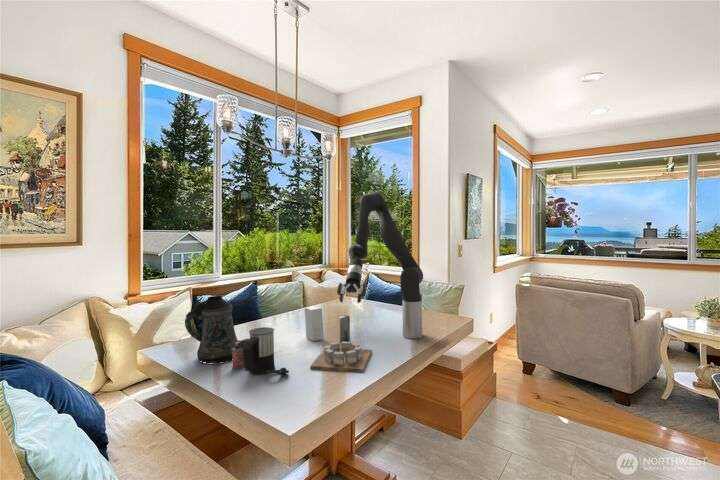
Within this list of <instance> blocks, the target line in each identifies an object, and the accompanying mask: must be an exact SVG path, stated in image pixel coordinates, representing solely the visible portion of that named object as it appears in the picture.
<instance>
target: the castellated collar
mask: <svg viewBox="0 0 720 480" xmlns="http://www.w3.org/2000/svg"><path fill="white" fill-rule="evenodd" d="M372 350H373V349H362V347H361V345H360V344H359V343H356V342H351V341H350V342H344V341H342V343H340V341H335V342H331V343H329V344H326V345H325V346H324V348H323V349H322V351H321V353H320V354H319V355H318V356H317V357H316V358H315V359H314V361H313V362H312V363H311V364H310V365H309V370H316V371H317V370H320V371H335V372H350V373H351V372H352V373H364V371H365V369H366V367H367V365H368V362H369V360H370V358H371V355H372V353H373V352H372Z"/></svg>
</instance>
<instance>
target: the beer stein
mask: <svg viewBox="0 0 720 480" xmlns="http://www.w3.org/2000/svg"><path fill="white" fill-rule="evenodd" d="M233 308H234V306H233V305H232V304H231V303H230V302H229V301H227V300H225V299H224V298H223V296H221V295H212V296H208V297H207V299H206V300H204V301H200V302H197V303H196V304H195V305H194V309H193V310H190V311H189V312H187V314H185V319H184V326H185V330H186V331H187V332H188V334H189V335H190V336H191V337H192V338H193V339H195V340H196V341H198V342H199V346H198V349H197V352H196V355H197V358H198V359H199V360H200V361H202V362H206V363H220V362H224V363H227V362H226V361H228V362H230V360H231V361H233V360H232V359H233V357H232V349H233V348H235V343H236V342H238V338H237V335H236V331H235V325H234V320H233V315H232V312H233ZM197 317H202V322H201V329H200V330H201V331H200V333H199V332H197V330H195V328H194V327H193V325H192V324H193V323H192V320H193V319H194V318H197ZM199 360H198V361H199ZM220 364H221V363H220Z"/></svg>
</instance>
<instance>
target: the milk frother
mask: <svg viewBox="0 0 720 480" xmlns="http://www.w3.org/2000/svg"><path fill="white" fill-rule="evenodd" d="M274 331H275V329H274V327H265V326H264V327H262V326H261V327H256V328H253V329H251V330H249V331H248V333H249V338H248V340H247V341H246V342H245V344H244V347H243V355H244V367H243V368H244V371H245V372H249V373H251V374H252V375H265V374H277V375H278V374H279V375H280V376H286V374H289V373H290V371H289V370H288V369H287V367H281V368H280V369H276V366H275V344H274V343H275V339H274V334H275V333H274Z"/></svg>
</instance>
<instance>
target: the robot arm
mask: <svg viewBox="0 0 720 480" xmlns="http://www.w3.org/2000/svg"><path fill="white" fill-rule="evenodd" d="M371 212H376V214H377V215H378V219H379V221H380V237H381V239H382V241H383V242H384V243H383V244H384V245H385V247H386V249H387V250H388V251H389V253H391V255H392V256H394V258H395V259H396V260H397V262H399V264H400V267H401V268H402V271H401V273H400V278H399V281H400V282H399V283H400V294H401V297H402V301H401V302H402V304H401V305H402V307H401V308H402V336H403V337H404V338H406V339H423V307H422V306H423V302H422V300H423V297H422V296H423V295H422V294H421V291H420V284H421V283H422V281H423V279H424V273H423V270H422V269H421V267H420V266H419V264H418V263H417V261H416V260H415V258H414V257H413V255H412V254H411V251H410V250H409V247H408V246H407V243H406V242H405V240H404V238H403V236H402V234H401V232H400V230H399V228H398V227H397V225H396V223H395V221H394V218H393V217H392V214H391V213H390V211H389V208H388V205H387V203H386V200H385V198H384V197H383V195H382V194H381V193H380V192H378V191H374V192H369V193H365V194H362V196H361V197H360V200H359V210H358V222H357V223H358V224H357V229H356V233H355V237H354V242H355V243H356V244H351V245H350V246H349V248H348V256H349V266H348V270H347V274H346V279H345V283H342V282H339V284H338V287H337V290H336V291H337V292H336V293H337V296H339V298H338V299H339V302H340V303H343V301H344V296H345V295H347V294H348V293H350V294H351V293H354V294H355V293H356V294H357V299H356V300H357V303H358V304H360V303H361V302H362V297H366V295H367V284H366V283H362V284H361V281H362V275H363V266H364V265H363V264H364V262H363V260H365V259H366V258H367V257H368V253H369V252H368V241H369V239H370V238H369V237H370V235H371V227H370V224H369V223H370V222H369V217H370V213H371ZM360 289H362V291H361V290H360Z"/></svg>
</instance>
